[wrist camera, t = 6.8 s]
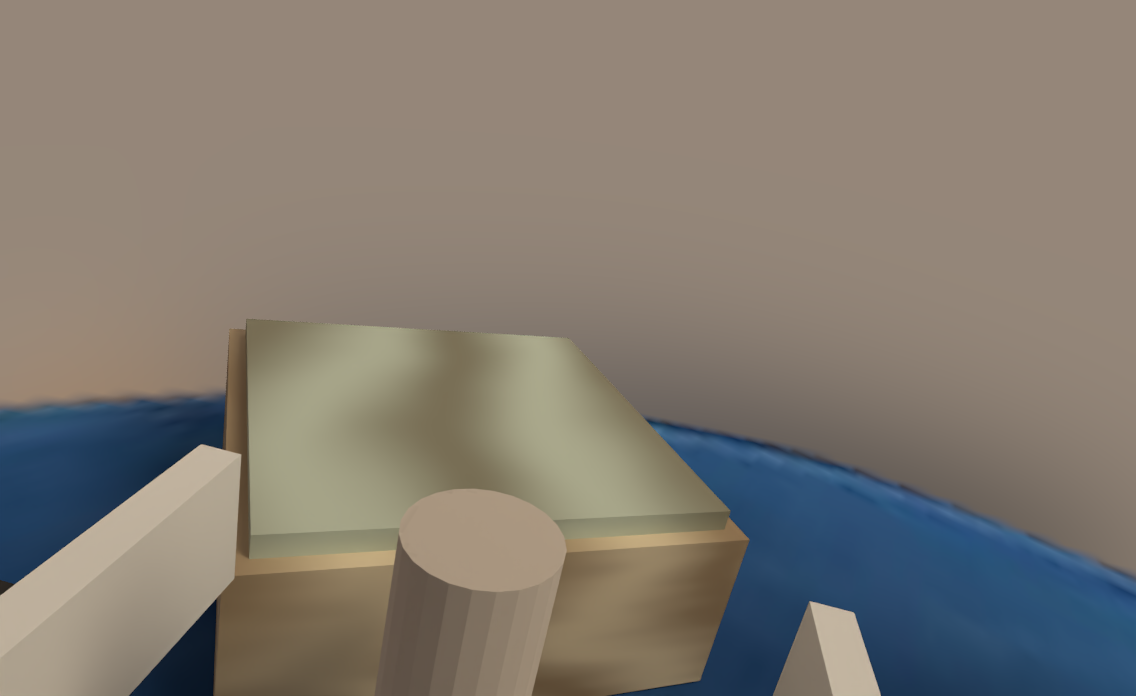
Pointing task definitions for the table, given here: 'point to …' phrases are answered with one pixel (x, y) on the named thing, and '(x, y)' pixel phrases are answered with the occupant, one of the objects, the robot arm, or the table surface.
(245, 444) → the lidded wooden box
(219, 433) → the table surface
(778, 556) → the table surface
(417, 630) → the pipe connector
